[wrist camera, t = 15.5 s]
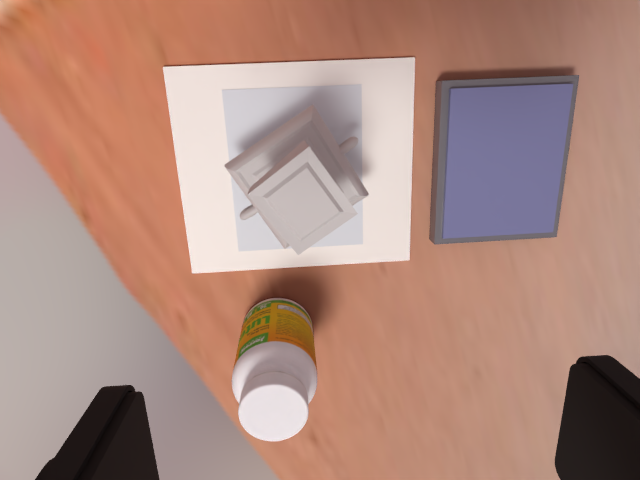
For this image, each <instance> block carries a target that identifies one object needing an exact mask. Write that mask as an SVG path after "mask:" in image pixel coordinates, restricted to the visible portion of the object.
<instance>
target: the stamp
mask: <svg viewBox="0 0 640 480" xmlns="http://www.w3.org/2000/svg"><path fill="white" fill-rule="evenodd" d="M357 144H358V138H356V137H350V138H348V139H347V140H345V141H344V142H343V143H341V144H339V145H338V143H337V142H336V140H335V139H334V137H333V135H332V134H331V132H330V131H329V129H328V127H327V126H326V124H325V123H324V121H323V119H322V118H321V116H320V114H319V113H318V111H317V110H316V108H315V106H314V105H311V106H310V107H308V108H307V109H305V110H304V111H302V112H301V113H299V114H298V115H296V116H295V117H293V118H292V119H291V120H289V121H288V122H286V123H285V124H283V125H282V126H280V127H279V128H277V129H276V130H274V131H273V132H272V133H270V134H269V135H267V136H266V137H264V138H263V139H261V140H260V141H258V142H257V143H255V144H254V145H252V146H251V147H250V148H248V149H247V150H245V151H244V152H242V153H241V154H239V155H238V156H236V157H235V158H233V159H232V160H231V161H229V162H228V163H226V164H225V168H226V169H227V171H228V172H229V173H230V175H231V176H232V177H233V179H234V180H235V182H236V183H237V184H238V186H239V187H240V188H241V190H242V191H243V193H244V194H245V195H246V197H247V198H248V199H249V201H250V202H251V204H252V205H250V206H248V207H247V208H245V209H244V210H242V211H241V213H240V219H241V220H246V219H248V218H250V217H252V216H254V215H255V214H256V213H259V215H260V216H261V217H262V219H263V220H264V221H265V223H266V224H267V226H268V227H269V228H270V230H271V231H272V232H273V234H274V235H275V237H276V238H277V239H278V241H279V242H280V243H281V245H282V246H283V247H284V249H286V248H287V247H289V246H291V247H292V249H293V250H294V251H295V252H296V253H297V254H298V255H299V254H301V253H302V252H303V251H305V250H306V249H308V248H309V247H311V246H312V245H314V244H315V243H316V242H318V241H319V240H321V239H322V238H324V237H325V236H327V235H328V234H329V233H331V232H332V231H334V230H335V229H337V228H338V227H340V226H341V225H342V224H344V223H345V222H347V221H348V220H350V219H351V218H353V217H354V216H355V215H357V214H358V213H357V212H356V211H355V209H354V208H353V205H354V204H356V203H357V202H359V201H361V200H362V199H364V198H365V197H367V196H368V195H369V193H368V191H367V190H366V188H365V187H364V185H363V183H362V182H361V180H360V179H359V177H358V175H357V174H356V172H355V171H354V169H353V167H352V166H351V164H350V163H349V161H348V159H347V158H346V156H345V155H344V154H345V153H347V152H349V151H350V150H351V149H352V148H354V147H355V146H356V145H357Z"/></svg>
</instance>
